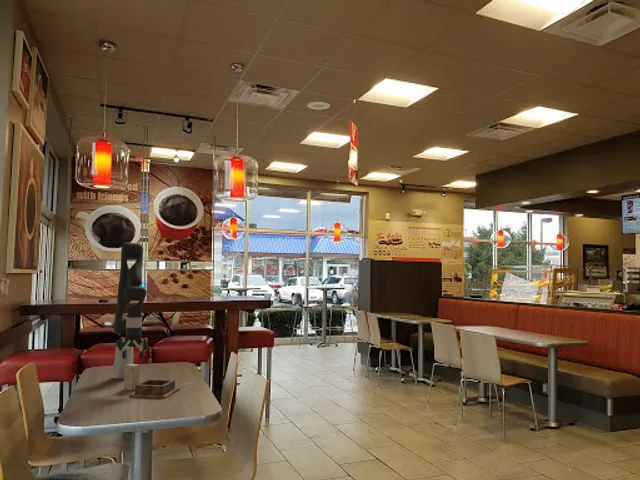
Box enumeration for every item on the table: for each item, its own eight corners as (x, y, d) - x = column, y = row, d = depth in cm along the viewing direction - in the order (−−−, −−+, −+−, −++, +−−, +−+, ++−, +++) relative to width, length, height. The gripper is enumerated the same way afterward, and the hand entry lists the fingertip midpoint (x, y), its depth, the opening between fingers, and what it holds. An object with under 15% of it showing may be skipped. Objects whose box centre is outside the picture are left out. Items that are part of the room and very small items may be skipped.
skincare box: (123, 389, 252) (124, 364, 252) (130, 387, 256) (131, 363, 256) (132, 390, 249) (133, 365, 250) (139, 389, 253) (140, 364, 253)
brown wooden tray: (129, 396, 237) (129, 385, 237) (145, 388, 255) (145, 378, 255) (166, 398, 235) (166, 387, 235) (180, 389, 253) (180, 379, 253)
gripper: (150, 325, 257) (149, 358, 256) (123, 325, 259) (122, 357, 257) (144, 327, 250) (143, 360, 249) (116, 326, 251) (115, 359, 250)
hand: (132, 358), depth 253 cm, fingers open, 8 cm apart
